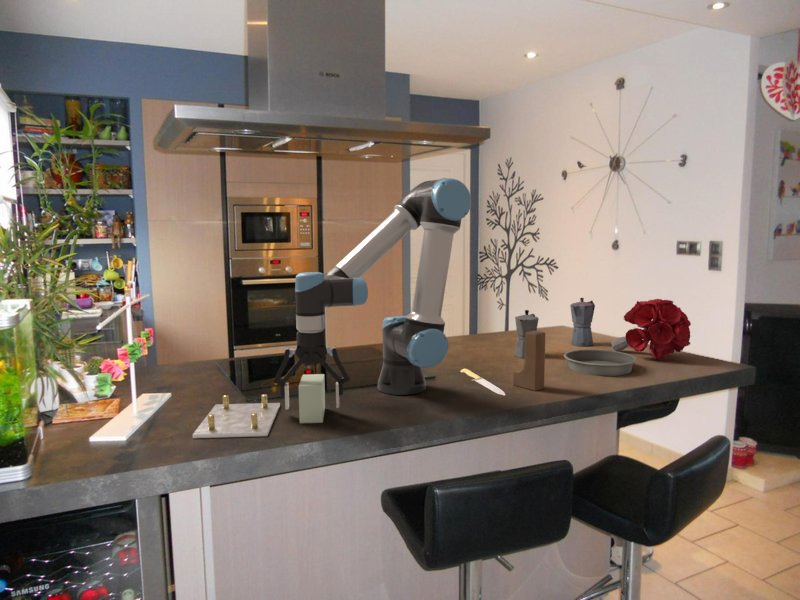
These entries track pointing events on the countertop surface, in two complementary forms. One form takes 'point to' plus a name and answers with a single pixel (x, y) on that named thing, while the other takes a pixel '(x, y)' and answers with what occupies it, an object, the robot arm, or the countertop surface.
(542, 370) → the wooden block
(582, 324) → the moka pot
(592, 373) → the cake pan
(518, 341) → the coffeepot
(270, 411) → the chassis plate
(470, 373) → the knife
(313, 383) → the pale green rectangular block
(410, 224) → the robot arm
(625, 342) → the bouquet
